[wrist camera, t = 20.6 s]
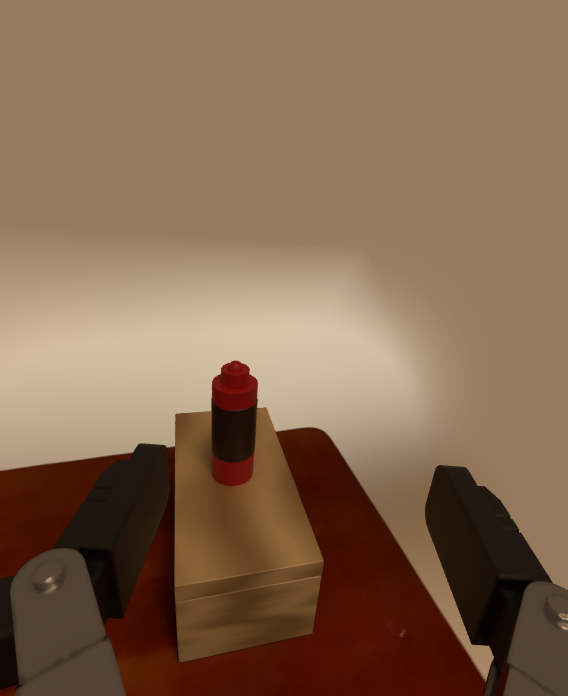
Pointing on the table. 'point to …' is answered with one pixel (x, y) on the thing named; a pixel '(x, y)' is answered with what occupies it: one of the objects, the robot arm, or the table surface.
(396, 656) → the table surface
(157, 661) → the table surface
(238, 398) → the red water bottle
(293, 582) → the wooden block
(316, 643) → the table surface
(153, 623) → the table surface
